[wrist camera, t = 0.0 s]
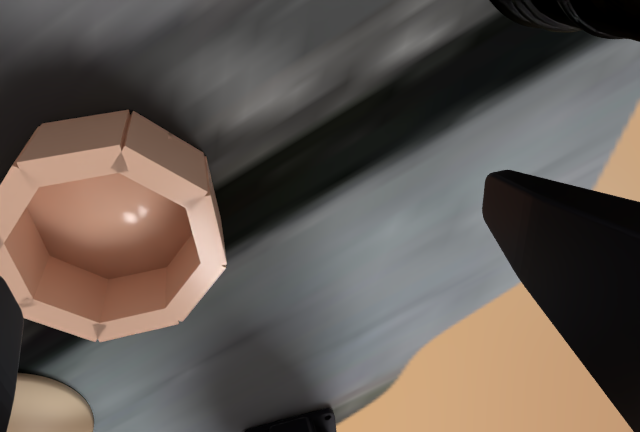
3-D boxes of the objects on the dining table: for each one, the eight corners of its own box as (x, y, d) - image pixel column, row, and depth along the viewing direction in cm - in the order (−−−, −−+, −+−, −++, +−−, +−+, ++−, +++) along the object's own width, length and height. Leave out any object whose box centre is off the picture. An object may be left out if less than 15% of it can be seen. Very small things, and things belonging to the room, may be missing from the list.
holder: (230, 261, 27) (238, 310, 24) (53, 299, 26) (35, 357, 22) (193, 99, 22) (195, 131, 19) (-29, 134, 21) (-69, 176, 17)
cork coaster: (113, 450, 32) (112, 458, 32) (-36, 489, 31) (-39, 499, 30) (62, 355, 28) (60, 363, 27) (-116, 397, 26) (-122, 406, 26)
